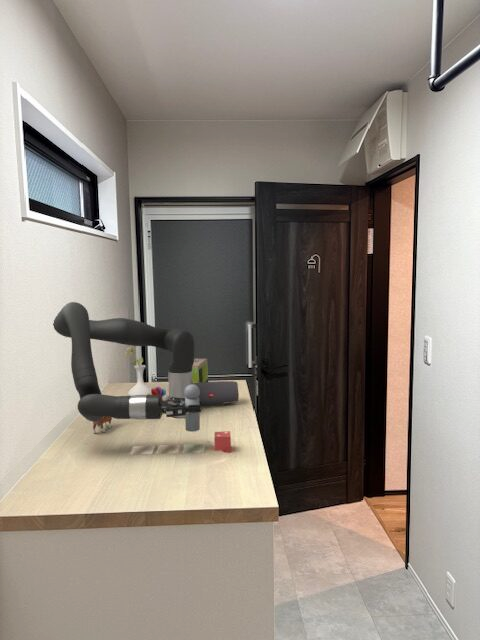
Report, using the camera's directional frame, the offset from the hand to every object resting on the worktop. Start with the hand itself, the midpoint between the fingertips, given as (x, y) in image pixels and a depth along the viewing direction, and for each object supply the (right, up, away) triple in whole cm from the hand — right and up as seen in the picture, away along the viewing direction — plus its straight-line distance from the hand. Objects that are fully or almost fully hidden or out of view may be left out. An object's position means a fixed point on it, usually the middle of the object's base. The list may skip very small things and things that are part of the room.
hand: (201, 406), depth 152 cm
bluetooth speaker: (0, -9, +50) cm, 51 cm away
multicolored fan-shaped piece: (-23, -9, +54) cm, 59 cm away
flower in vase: (-32, -8, +65) cm, 73 cm away
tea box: (-9, -7, +71) cm, 72 cm away
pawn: (-3, -7, +1) cm, 8 cm away
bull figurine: (-36, -13, +23) cm, 44 cm away
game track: (-10, -14, +1) cm, 18 cm away
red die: (+7, -14, +2) cm, 16 cm away
